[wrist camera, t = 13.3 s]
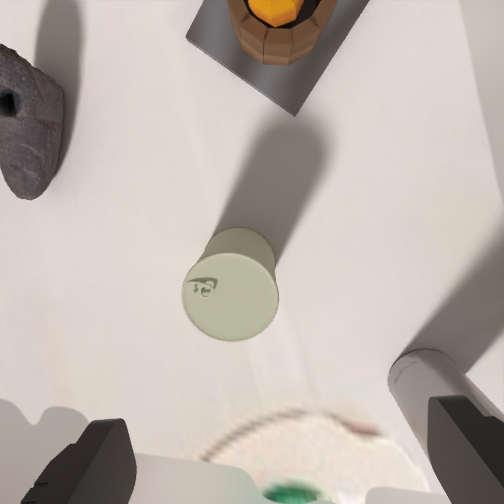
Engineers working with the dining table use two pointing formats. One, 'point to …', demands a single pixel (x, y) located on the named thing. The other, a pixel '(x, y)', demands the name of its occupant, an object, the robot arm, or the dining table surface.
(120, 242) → the dining table surface
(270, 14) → the carrot
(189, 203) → the dining table surface
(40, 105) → the perforated stone tool
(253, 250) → the can
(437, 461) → the robot arm
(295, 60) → the holder
